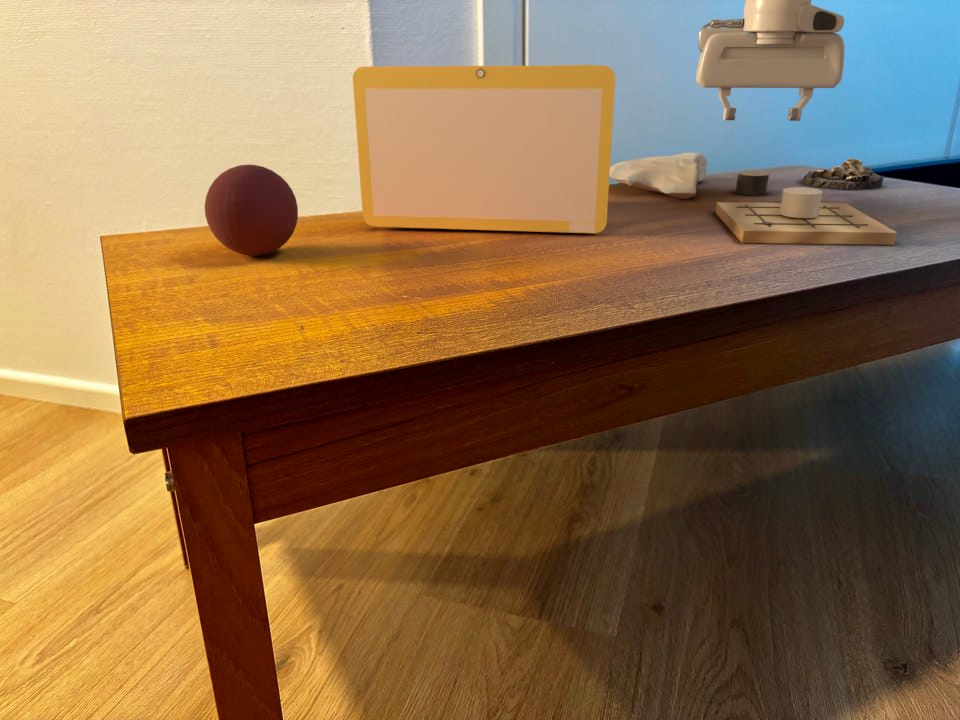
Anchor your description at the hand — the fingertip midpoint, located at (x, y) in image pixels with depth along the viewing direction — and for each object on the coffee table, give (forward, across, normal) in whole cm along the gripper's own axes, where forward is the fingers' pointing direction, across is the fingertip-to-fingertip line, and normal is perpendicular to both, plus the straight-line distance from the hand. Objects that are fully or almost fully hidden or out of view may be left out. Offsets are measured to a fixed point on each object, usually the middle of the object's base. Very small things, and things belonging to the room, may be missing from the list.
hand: (760, 120), depth 110 cm
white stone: (+9, 0, -24) cm, 26 cm away
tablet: (+11, -36, -25) cm, 45 cm away
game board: (+11, 0, -24) cm, 26 cm away
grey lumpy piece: (+11, +16, +9) cm, 22 cm away
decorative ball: (+12, -64, -41) cm, 76 cm away
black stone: (+11, 0, 0) cm, 11 cm away
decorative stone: (+11, -15, +4) cm, 19 cm away
